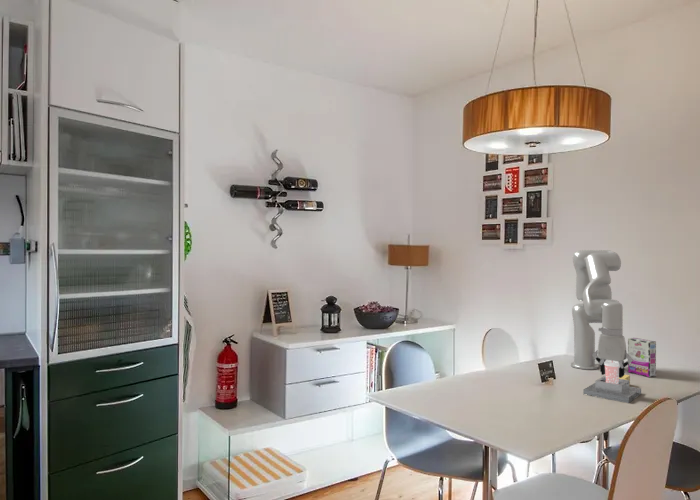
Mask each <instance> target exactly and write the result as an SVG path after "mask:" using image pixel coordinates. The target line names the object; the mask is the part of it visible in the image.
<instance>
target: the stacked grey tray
mask: <svg viewBox="0 0 700 500" xmlns="http://www.w3.org/2000/svg"><path fill="white" fill-rule="evenodd" d="M584 394H587V395H586V396H590V395H592V396H591V397H595V396H597V397H596V398H600V397H601V398H602V399H605V398H606V400H612V401H616V402H621V403H627V404H629V403H631V402H632V401H633V400H635V399H636V398H638V397H639V396H640V395H641V394H642V388H639V387H634V386H630V385H629V380H624V379H619V383H618V384H614V383H609V382H606V376H605V375H602V376H601V377H600V378H598V379H596V380H595V381H594V383H592V384H591V385H589V386H587V387H585V388H584V389H583V395H584Z"/></svg>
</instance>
